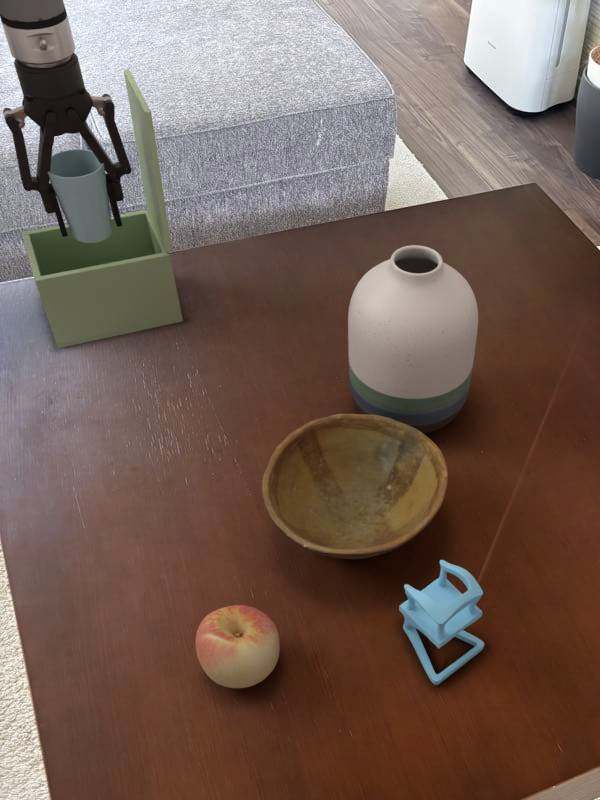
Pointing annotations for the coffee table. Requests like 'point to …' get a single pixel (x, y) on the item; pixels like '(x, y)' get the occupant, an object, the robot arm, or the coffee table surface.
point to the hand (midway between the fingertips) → (90, 226)
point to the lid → (148, 158)
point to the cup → (82, 194)
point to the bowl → (354, 485)
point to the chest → (104, 280)
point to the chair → (443, 616)
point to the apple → (237, 646)
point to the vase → (412, 339)
